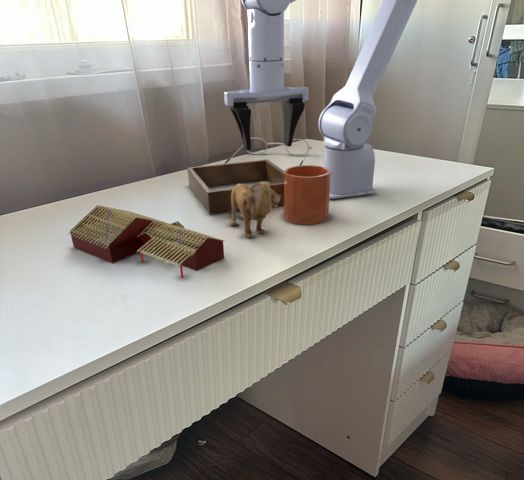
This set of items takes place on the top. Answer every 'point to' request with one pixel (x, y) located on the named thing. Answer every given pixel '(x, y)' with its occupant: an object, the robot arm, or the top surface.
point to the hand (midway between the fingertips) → (267, 147)
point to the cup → (306, 194)
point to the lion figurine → (252, 204)
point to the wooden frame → (232, 181)
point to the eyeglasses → (275, 144)
